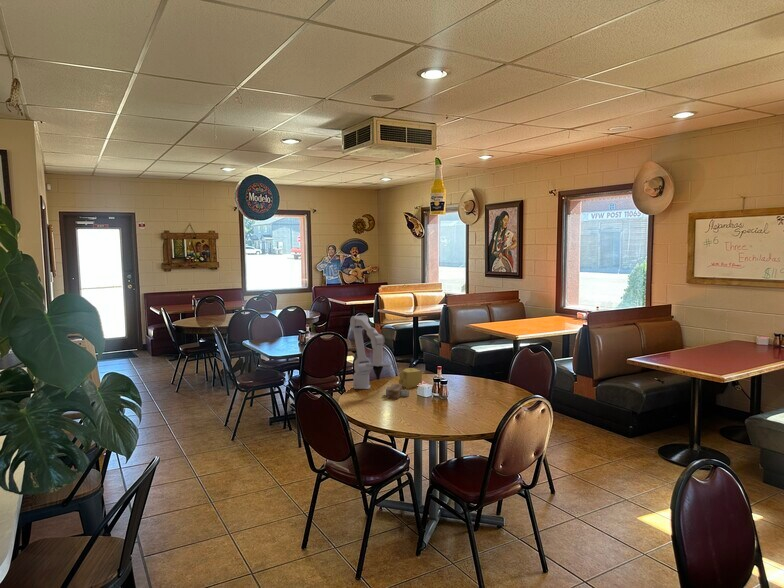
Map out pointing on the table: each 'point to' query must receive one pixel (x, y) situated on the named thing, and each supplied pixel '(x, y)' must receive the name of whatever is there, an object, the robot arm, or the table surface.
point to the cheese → (410, 377)
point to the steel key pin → (402, 392)
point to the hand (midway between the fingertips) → (378, 379)
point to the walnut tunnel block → (394, 391)
